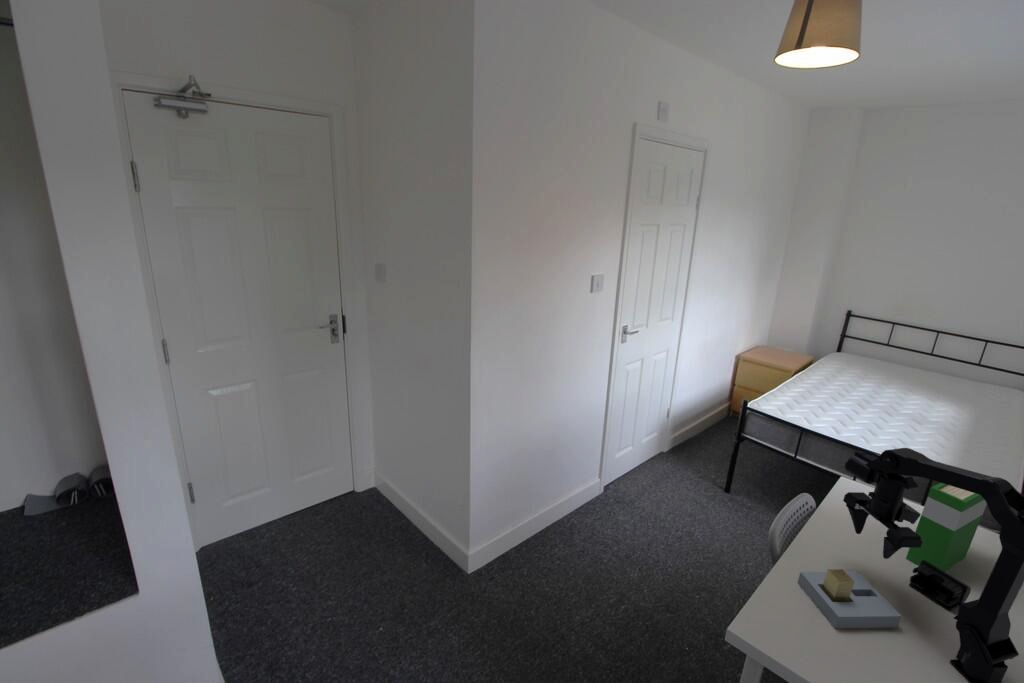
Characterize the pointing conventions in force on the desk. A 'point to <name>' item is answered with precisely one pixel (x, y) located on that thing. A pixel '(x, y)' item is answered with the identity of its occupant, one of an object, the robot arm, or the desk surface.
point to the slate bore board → (851, 603)
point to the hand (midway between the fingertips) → (871, 545)
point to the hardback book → (947, 526)
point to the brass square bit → (838, 585)
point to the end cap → (939, 586)
